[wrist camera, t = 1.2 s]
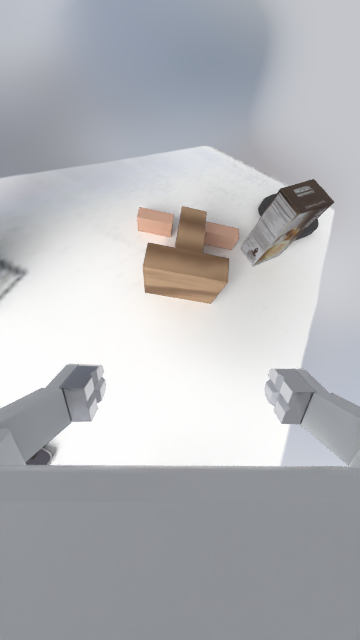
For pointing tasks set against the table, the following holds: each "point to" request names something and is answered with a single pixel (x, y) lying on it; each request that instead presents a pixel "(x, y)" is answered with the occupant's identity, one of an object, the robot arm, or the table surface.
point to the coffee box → (285, 220)
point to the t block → (185, 263)
